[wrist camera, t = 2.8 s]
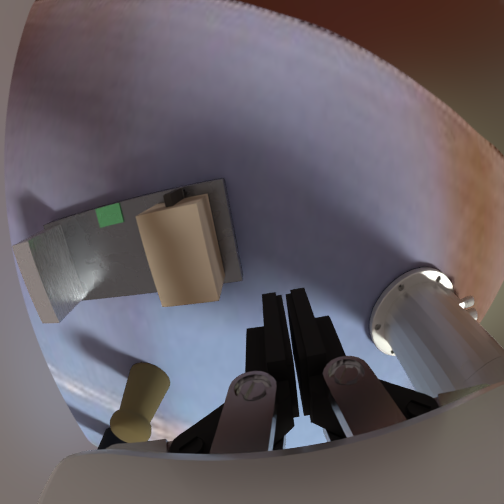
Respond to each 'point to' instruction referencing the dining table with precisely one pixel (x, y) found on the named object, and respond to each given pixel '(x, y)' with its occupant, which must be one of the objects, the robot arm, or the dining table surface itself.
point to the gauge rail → (109, 252)
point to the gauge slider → (182, 249)
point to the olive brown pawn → (139, 402)
